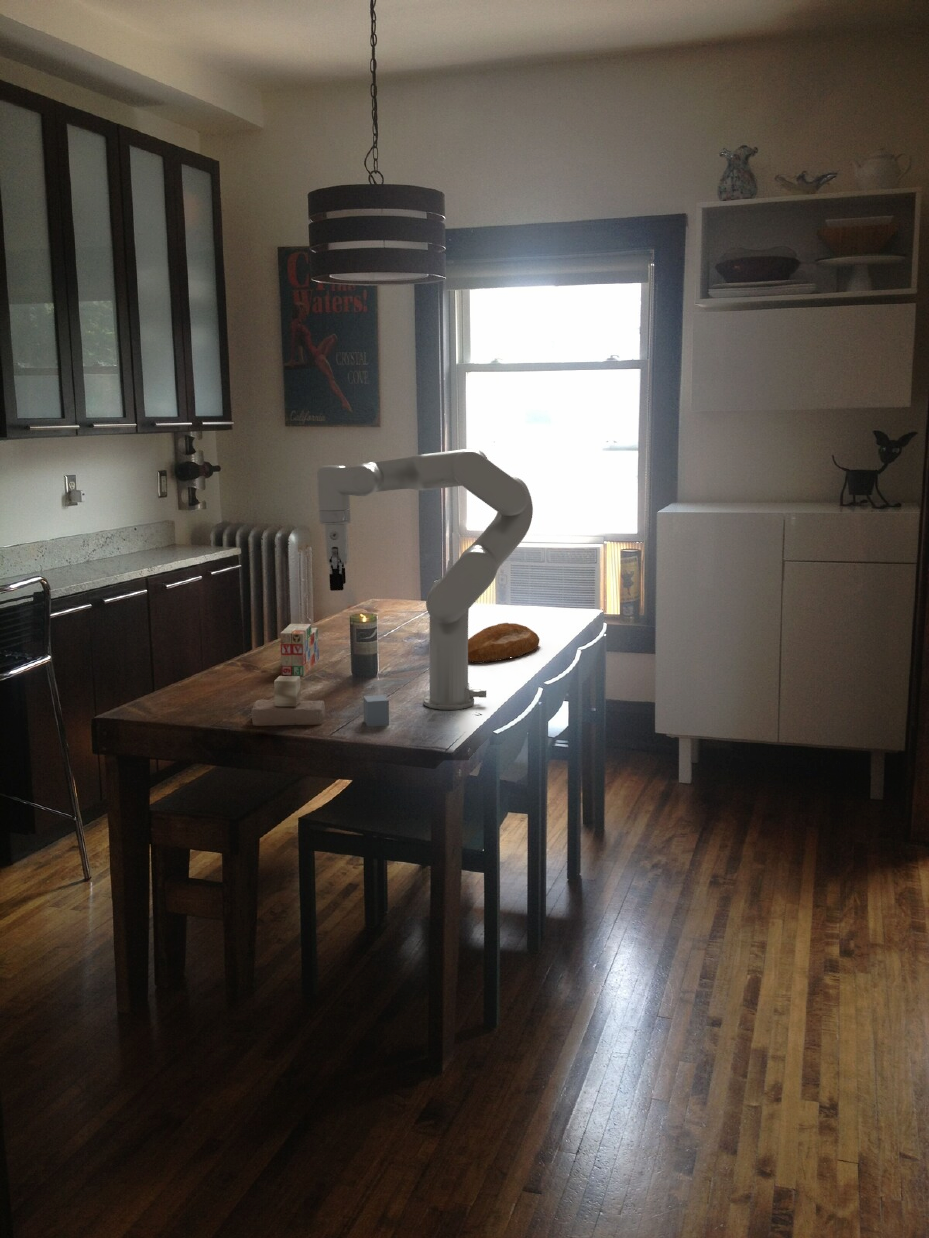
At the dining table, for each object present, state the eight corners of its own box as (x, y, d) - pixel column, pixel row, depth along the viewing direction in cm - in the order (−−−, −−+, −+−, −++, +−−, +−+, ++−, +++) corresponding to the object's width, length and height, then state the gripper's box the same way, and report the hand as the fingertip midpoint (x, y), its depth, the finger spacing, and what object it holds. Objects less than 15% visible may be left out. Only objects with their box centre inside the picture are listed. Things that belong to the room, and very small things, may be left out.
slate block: (384, 719, 260) (384, 694, 259) (389, 725, 255) (388, 700, 254) (363, 720, 258) (363, 696, 257) (367, 726, 254) (367, 701, 253)
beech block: (300, 700, 260) (300, 676, 259) (296, 706, 256) (295, 681, 254) (280, 700, 261) (279, 675, 260) (275, 706, 256) (274, 681, 255)
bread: (439, 660, 319) (439, 630, 318) (509, 639, 347) (509, 612, 345) (488, 669, 309) (488, 638, 307) (556, 647, 336) (556, 618, 335)
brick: (325, 716, 264) (325, 697, 263) (323, 726, 256) (322, 707, 255) (256, 718, 263) (255, 699, 262) (251, 728, 254) (250, 708, 254)
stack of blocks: (298, 658, 321) (296, 617, 319) (319, 658, 321) (318, 617, 318) (281, 676, 300) (279, 632, 298) (303, 676, 300) (302, 632, 298)
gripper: (348, 520, 257) (351, 592, 260) (352, 513, 274) (355, 580, 277) (316, 521, 257) (319, 593, 260) (321, 514, 274) (325, 581, 277)
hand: (338, 587), depth 269 cm, fingers open, 9 cm apart
